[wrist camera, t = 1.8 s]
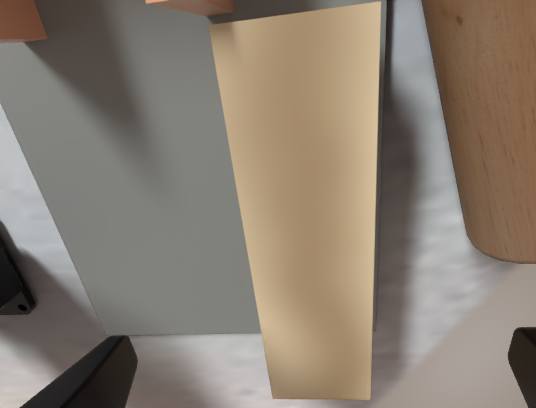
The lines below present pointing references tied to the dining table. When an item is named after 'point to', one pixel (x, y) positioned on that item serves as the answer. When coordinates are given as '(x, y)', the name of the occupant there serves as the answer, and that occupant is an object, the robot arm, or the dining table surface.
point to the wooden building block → (307, 188)
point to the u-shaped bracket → (31, 29)
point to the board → (144, 158)
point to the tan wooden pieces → (490, 117)
